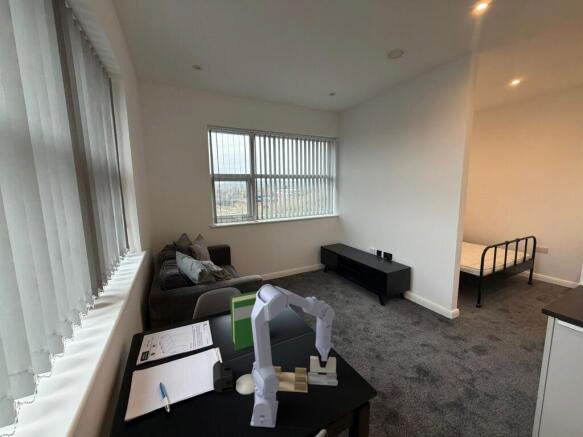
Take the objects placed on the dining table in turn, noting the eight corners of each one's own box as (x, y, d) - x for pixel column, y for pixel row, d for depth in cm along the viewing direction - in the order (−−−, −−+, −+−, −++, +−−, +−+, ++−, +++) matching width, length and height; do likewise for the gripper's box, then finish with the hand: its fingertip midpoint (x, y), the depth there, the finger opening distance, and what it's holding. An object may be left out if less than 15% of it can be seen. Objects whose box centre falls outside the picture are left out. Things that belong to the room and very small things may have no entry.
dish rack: (307, 393, 92) (307, 385, 91) (265, 391, 93) (265, 382, 92) (307, 375, 101) (307, 367, 100) (269, 373, 102) (269, 365, 101)
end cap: (213, 376, 100) (212, 361, 99) (230, 372, 102) (230, 357, 101) (213, 396, 91) (212, 379, 90) (233, 391, 93) (232, 375, 92)
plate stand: (337, 386, 95) (337, 382, 95) (307, 385, 96) (308, 381, 95) (336, 376, 100) (336, 372, 100) (307, 375, 101) (307, 371, 100)
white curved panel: (335, 373, 96) (336, 360, 95) (310, 371, 97) (310, 358, 96) (335, 370, 98) (335, 357, 97) (310, 368, 98) (310, 356, 98)
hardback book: (235, 350, 116) (233, 302, 113) (231, 341, 122) (230, 296, 119) (269, 340, 123) (269, 295, 120) (264, 332, 130) (264, 289, 127)
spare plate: (256, 396, 91) (256, 393, 91) (232, 394, 92) (232, 391, 91) (261, 377, 100) (261, 374, 100) (239, 376, 101) (239, 373, 100)
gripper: (336, 345, 88) (334, 379, 89) (332, 323, 102) (331, 353, 104) (316, 344, 88) (315, 378, 90) (315, 322, 102) (314, 352, 104)
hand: (322, 365), depth 97 cm, fingers closed on white curved panel, 2 cm apart
